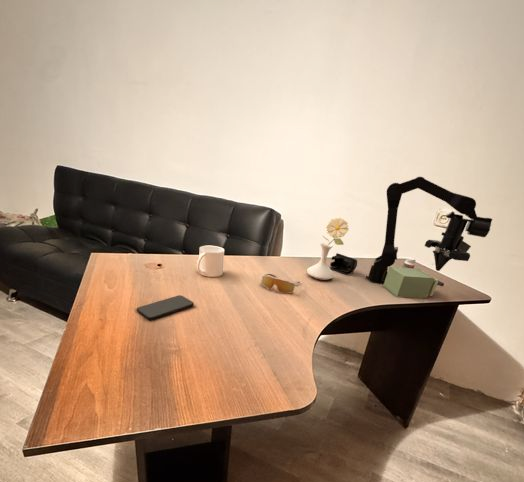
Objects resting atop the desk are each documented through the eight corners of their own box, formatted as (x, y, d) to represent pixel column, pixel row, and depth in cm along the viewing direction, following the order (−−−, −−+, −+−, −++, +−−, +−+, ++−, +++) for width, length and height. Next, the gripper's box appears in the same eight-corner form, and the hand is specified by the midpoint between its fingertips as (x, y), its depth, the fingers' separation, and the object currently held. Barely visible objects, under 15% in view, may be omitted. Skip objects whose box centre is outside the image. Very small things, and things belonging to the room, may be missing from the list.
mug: (212, 267, 122) (214, 244, 117) (227, 274, 117) (229, 251, 112) (187, 272, 114) (187, 247, 109) (202, 280, 109) (202, 255, 104)
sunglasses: (255, 286, 109) (257, 273, 107) (269, 280, 123) (271, 268, 121) (292, 297, 105) (295, 283, 104) (302, 289, 119) (305, 276, 117)
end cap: (354, 272, 139) (358, 258, 136) (347, 275, 134) (351, 260, 131) (336, 266, 145) (339, 252, 142) (328, 268, 140) (331, 254, 137)
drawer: (428, 287, 132) (434, 272, 129) (442, 296, 124) (449, 280, 120) (392, 285, 128) (397, 269, 125) (405, 294, 120) (411, 278, 117)
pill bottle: (405, 277, 143) (412, 260, 139) (398, 273, 147) (404, 257, 143) (412, 276, 145) (418, 260, 141) (404, 273, 149) (410, 256, 145)
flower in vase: (300, 275, 127) (313, 213, 115) (315, 270, 135) (327, 212, 123) (327, 285, 120) (343, 221, 108) (341, 280, 128) (357, 219, 116)
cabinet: (411, 287, 131) (418, 268, 127) (426, 298, 122) (435, 278, 118) (383, 285, 128) (389, 266, 124) (396, 296, 119) (404, 276, 115)
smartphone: (134, 307, 83) (180, 294, 94) (135, 310, 84) (180, 297, 94) (149, 318, 79) (195, 303, 90) (149, 321, 80) (195, 306, 90)
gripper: (491, 240, 109) (471, 280, 116) (454, 228, 125) (439, 264, 132) (465, 237, 107) (446, 278, 114) (431, 225, 123) (417, 262, 130)
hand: (437, 270), depth 123 cm, fingers closed
